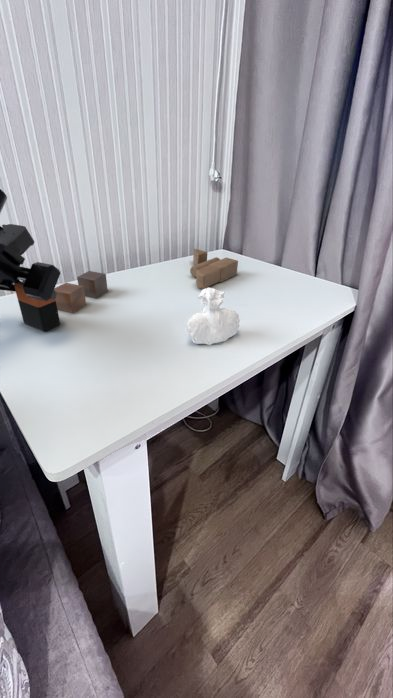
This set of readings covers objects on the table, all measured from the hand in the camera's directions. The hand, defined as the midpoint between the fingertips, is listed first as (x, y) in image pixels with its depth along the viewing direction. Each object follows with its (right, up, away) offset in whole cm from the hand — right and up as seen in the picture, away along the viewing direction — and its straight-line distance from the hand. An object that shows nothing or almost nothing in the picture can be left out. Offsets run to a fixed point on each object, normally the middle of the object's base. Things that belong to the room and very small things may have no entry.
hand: (41, 293), depth 69 cm
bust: (+35, -9, +1) cm, 36 cm away
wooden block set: (+33, +11, +32) cm, 47 cm away
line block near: (+3, -2, +10) cm, 10 cm away
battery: (-1, -6, +3) cm, 7 cm away
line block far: (+6, +3, +17) cm, 18 cm away
